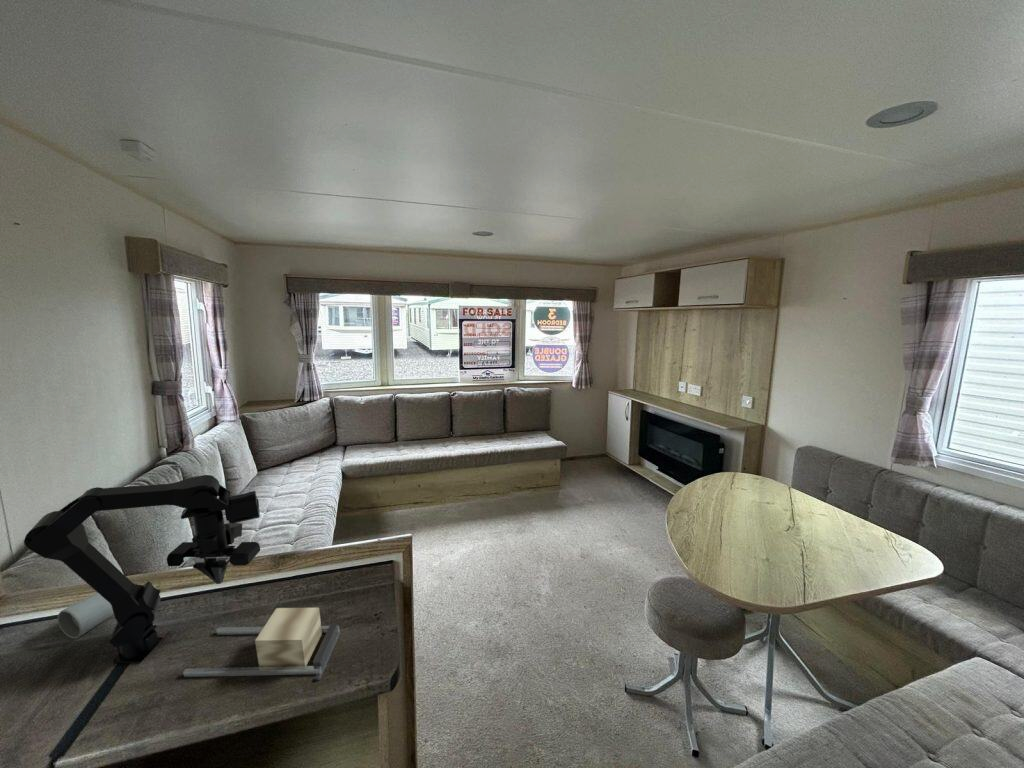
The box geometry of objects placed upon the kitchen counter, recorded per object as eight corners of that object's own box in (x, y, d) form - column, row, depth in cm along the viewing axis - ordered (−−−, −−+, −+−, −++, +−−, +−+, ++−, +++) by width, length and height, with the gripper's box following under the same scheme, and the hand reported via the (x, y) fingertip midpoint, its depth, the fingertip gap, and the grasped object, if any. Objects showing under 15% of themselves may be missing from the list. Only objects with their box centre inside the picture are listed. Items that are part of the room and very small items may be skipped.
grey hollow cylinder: (122, 615, 104) (115, 590, 102) (83, 641, 96) (75, 615, 94) (91, 608, 106) (84, 583, 104) (51, 633, 98) (42, 607, 97)
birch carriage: (259, 669, 89) (254, 640, 87) (280, 635, 98) (276, 608, 96) (305, 668, 90) (301, 639, 88) (321, 634, 99) (319, 607, 97)
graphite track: (183, 683, 87) (180, 668, 86) (221, 634, 99) (218, 621, 98) (319, 680, 89) (318, 665, 88) (340, 632, 101) (339, 619, 100)
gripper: (268, 509, 104) (275, 560, 108) (193, 509, 103) (203, 561, 107) (242, 535, 94) (251, 591, 97) (159, 535, 93) (171, 592, 96)
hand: (219, 582), depth 100 cm, fingers closed
